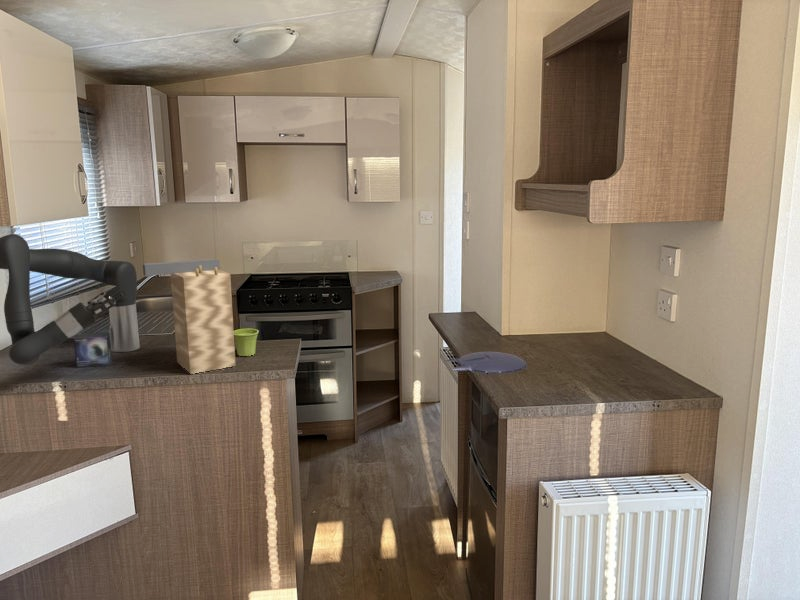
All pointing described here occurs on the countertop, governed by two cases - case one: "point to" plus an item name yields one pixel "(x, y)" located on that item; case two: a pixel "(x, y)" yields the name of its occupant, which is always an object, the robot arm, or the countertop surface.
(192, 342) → the oak block
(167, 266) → the bar
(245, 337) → the plant pot
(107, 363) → the small box
